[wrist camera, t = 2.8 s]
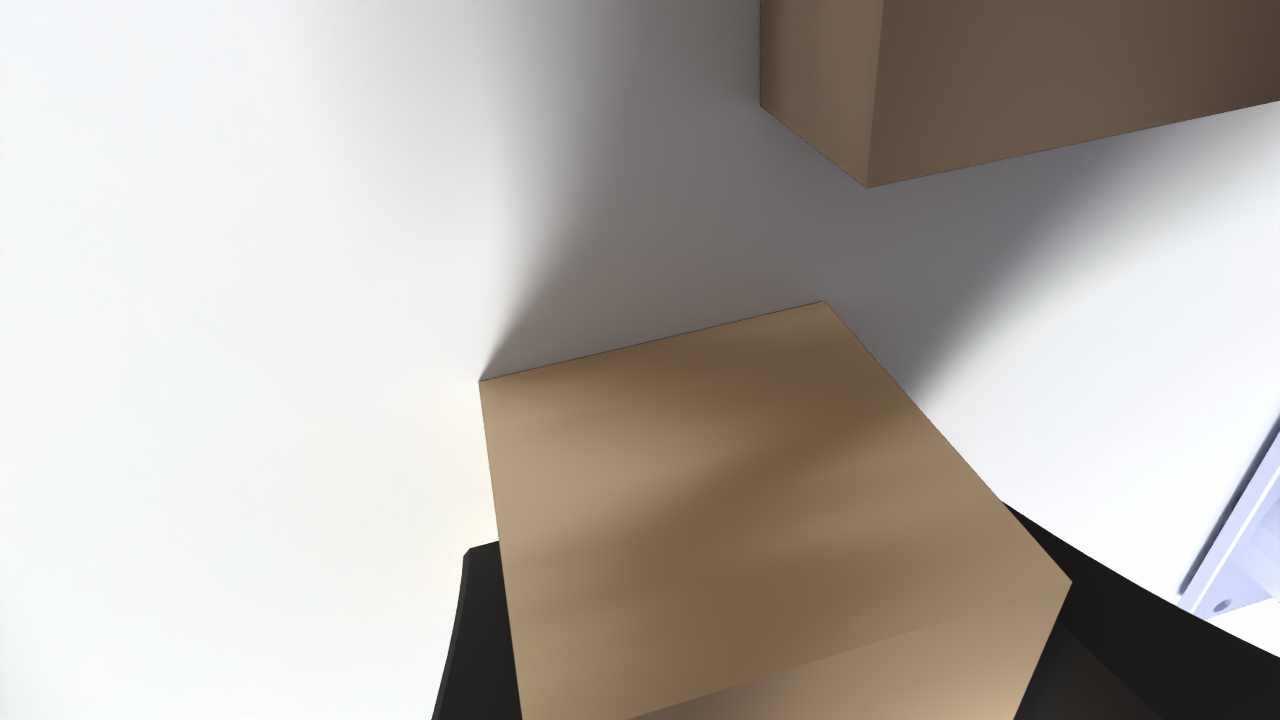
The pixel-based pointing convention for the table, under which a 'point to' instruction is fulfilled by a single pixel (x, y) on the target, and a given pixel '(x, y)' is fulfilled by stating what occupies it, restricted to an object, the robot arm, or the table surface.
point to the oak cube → (754, 538)
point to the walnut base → (1003, 74)
